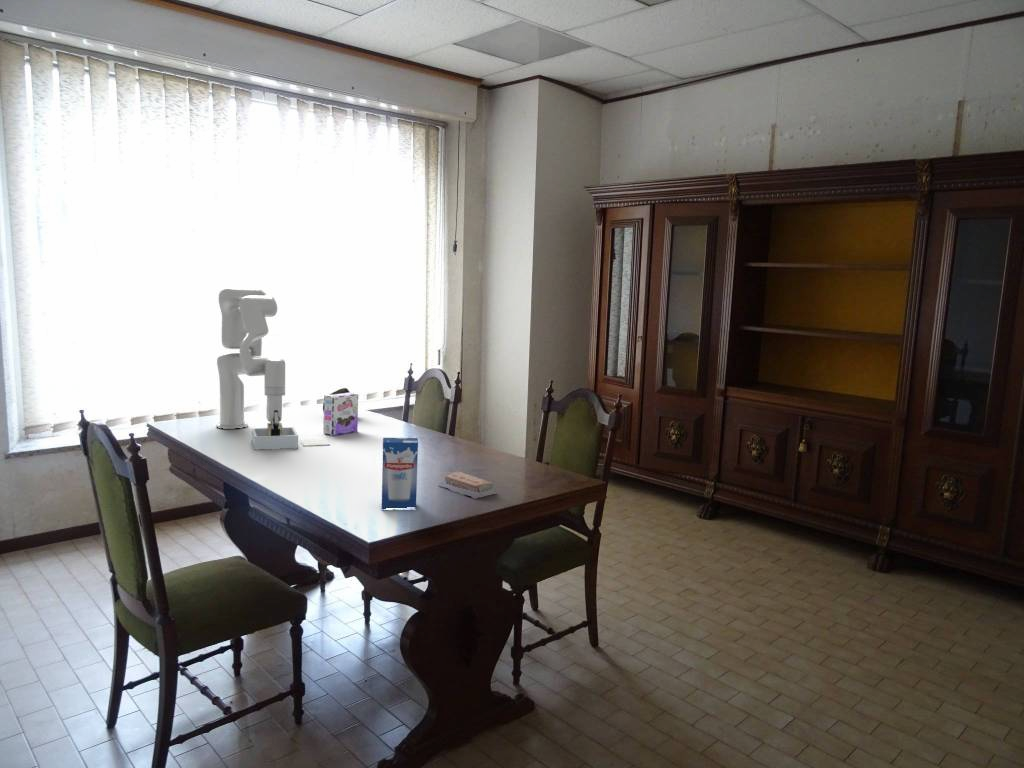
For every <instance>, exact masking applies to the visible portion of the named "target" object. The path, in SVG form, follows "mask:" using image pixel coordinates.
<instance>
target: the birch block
mask: <svg viewBox="0 0 1024 768" xmlns="http://www.w3.org/2000/svg"><path fill="white" fill-rule="evenodd" d="M273 424H274V423H273ZM279 426H280V436H282V428H283V424H282V422H279ZM266 428H267V436H271V429H272V423H270V422H267V427H266Z"/></svg>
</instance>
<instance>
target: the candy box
mask: <svg viewBox="0 0 1024 768" xmlns="http://www.w3.org/2000/svg"><path fill="white" fill-rule="evenodd" d="M323 399H324V400H323V403H324V412H323V434H324V435H327V436H332V437H333V436H339V435H345V434H346V435H347V434H352V433H356V432H358V421H359V420H358V415H359V414H358V413H359V394H358V393H354V392H353V393H352V392H350V393H343V394H334V395H330V394H326V395H324V396H323ZM351 432H352V433H351Z"/></svg>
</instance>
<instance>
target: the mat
mask: <svg viewBox="0 0 1024 768" xmlns="http://www.w3.org/2000/svg"><path fill="white" fill-rule="evenodd" d="M299 441H301V442H300V443H301V445H302V447H317V446H316V445H325V446H330V442H329V441H328V439H327V438H310V439H299Z"/></svg>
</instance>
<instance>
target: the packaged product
mask: <svg viewBox="0 0 1024 768" xmlns="http://www.w3.org/2000/svg"><path fill="white" fill-rule="evenodd" d="M444 480H445V482H446V484H449V485H452V486H455V487H458V488H462V489H466V490H470V491H474V492H479V493H481V492H485V491H488V490H491V489H494V484H493V482H491V481H488V480H487V479H483V478H481V477H477V476H474V475H471V474H467V473H466V472H462V471H457V470H456V471H453V472H451V473H450V474H447V475H445V477H444Z"/></svg>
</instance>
